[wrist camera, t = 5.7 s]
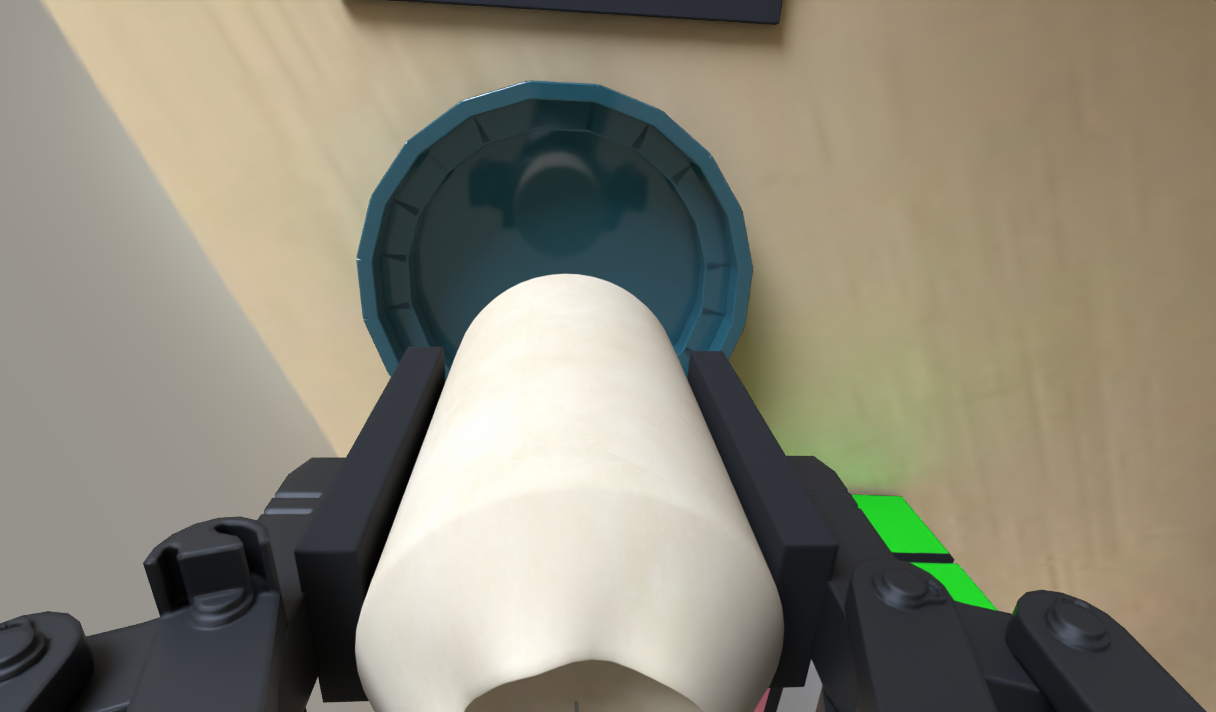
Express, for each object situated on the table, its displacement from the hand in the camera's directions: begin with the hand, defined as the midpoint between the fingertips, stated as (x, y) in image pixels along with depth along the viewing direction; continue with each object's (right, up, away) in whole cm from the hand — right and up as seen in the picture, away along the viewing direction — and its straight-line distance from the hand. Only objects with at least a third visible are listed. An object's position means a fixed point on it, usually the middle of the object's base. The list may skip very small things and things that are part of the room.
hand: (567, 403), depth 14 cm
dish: (-1, +5, +12) cm, 13 cm away
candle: (0, +1, +2) cm, 2 cm away
